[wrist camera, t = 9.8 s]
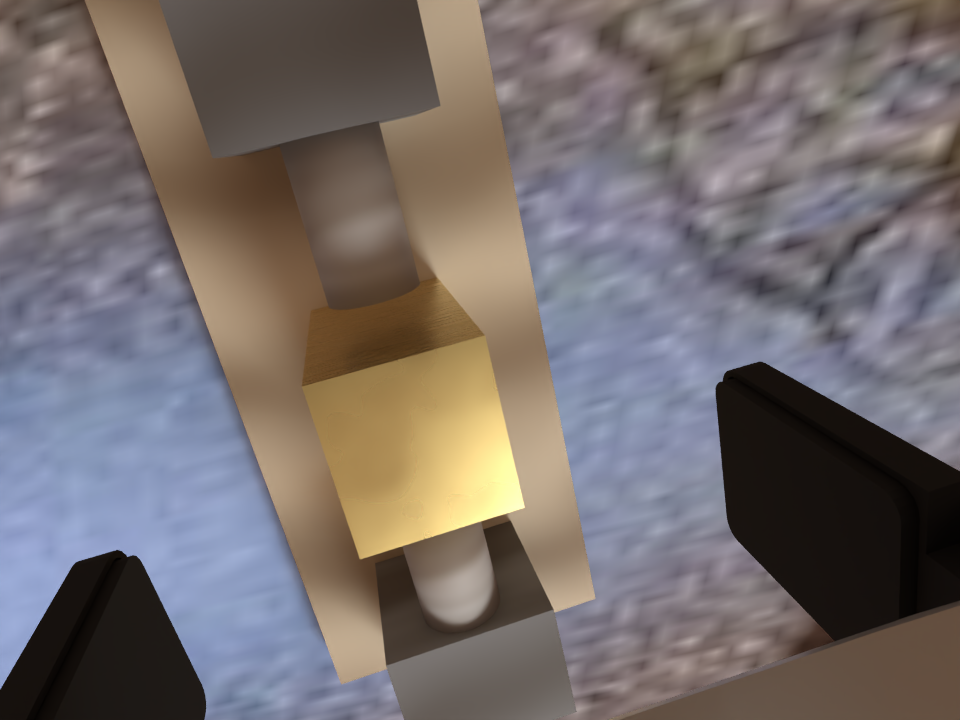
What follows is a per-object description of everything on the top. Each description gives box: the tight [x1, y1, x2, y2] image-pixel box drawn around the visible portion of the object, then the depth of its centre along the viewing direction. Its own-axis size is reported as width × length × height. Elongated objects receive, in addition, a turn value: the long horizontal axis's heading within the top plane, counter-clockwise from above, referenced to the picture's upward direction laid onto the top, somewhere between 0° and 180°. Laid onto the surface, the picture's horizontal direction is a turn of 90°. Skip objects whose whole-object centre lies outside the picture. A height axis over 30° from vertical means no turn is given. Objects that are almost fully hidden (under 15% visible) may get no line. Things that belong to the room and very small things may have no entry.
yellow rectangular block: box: [302, 277, 525, 559], centre depth 18 cm, size 4×4×7 cm
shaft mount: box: [85, 0, 595, 720], centre depth 20 cm, size 23×10×6 cm, turn 13°
